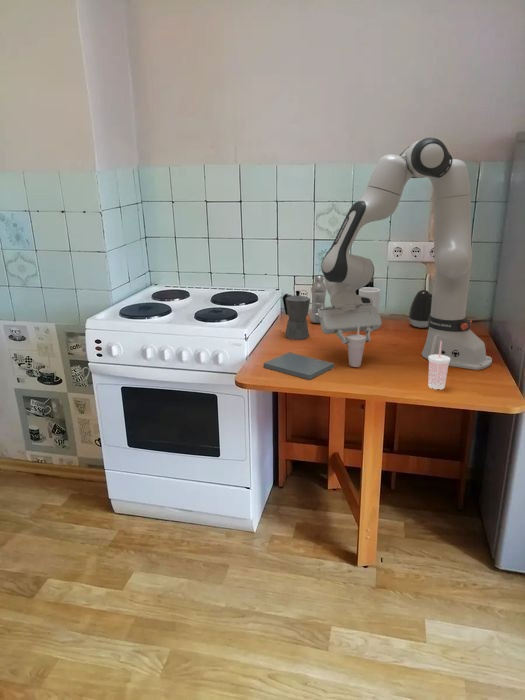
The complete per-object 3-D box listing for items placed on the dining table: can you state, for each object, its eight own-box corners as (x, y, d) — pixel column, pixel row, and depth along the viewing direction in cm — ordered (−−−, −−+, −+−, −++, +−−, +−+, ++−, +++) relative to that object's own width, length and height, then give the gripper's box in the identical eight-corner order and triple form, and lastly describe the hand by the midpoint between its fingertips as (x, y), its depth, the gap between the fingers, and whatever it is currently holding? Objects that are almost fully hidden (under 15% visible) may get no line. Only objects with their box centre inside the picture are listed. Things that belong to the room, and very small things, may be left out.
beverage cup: (448, 384, 160) (453, 339, 155) (446, 391, 154) (451, 345, 150) (426, 381, 162) (431, 337, 158) (424, 388, 157) (428, 342, 152)
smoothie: (366, 368, 173) (368, 326, 168) (346, 368, 173) (348, 326, 168) (363, 361, 179) (365, 321, 174) (343, 361, 179) (345, 321, 174)
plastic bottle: (327, 321, 228) (329, 274, 222) (322, 325, 222) (324, 277, 216) (313, 320, 231) (314, 273, 225) (307, 324, 225) (308, 276, 219)
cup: (379, 330, 215) (381, 291, 210) (358, 330, 215) (360, 291, 210) (375, 325, 223) (377, 287, 218) (355, 325, 223) (357, 287, 218)
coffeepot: (317, 338, 205) (319, 292, 199) (298, 342, 200) (299, 295, 194) (292, 329, 217) (292, 285, 211) (273, 333, 212) (273, 288, 206)
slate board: (334, 367, 174) (334, 363, 173) (309, 379, 163) (309, 375, 163) (289, 356, 185) (289, 352, 184) (263, 367, 174) (263, 362, 174)
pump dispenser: (433, 330, 215) (437, 293, 210) (407, 328, 218) (410, 291, 213) (434, 324, 224) (438, 288, 219) (408, 322, 227) (411, 286, 222)
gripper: (318, 302, 173) (329, 340, 167) (376, 298, 178) (389, 334, 172) (313, 312, 179) (323, 349, 173) (370, 308, 184) (381, 344, 178)
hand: (356, 342), depth 173 cm, fingers closed on smoothie, 6 cm apart
